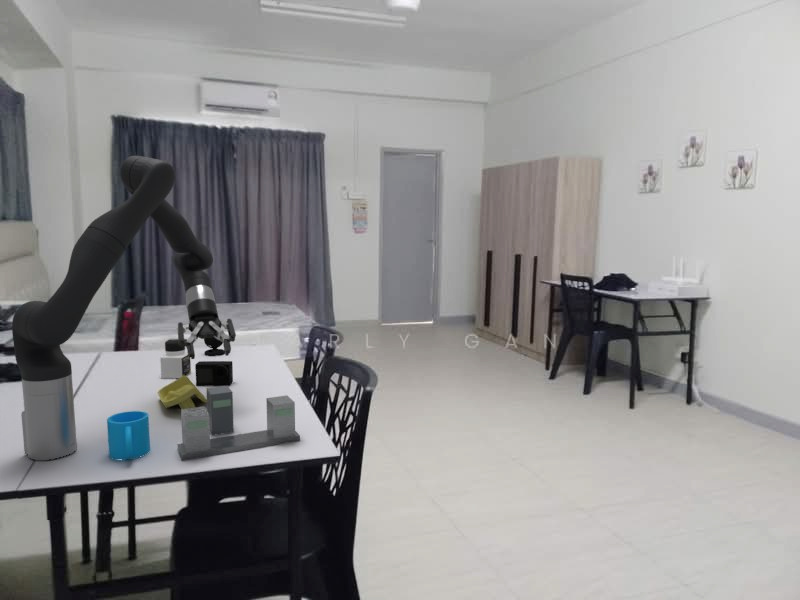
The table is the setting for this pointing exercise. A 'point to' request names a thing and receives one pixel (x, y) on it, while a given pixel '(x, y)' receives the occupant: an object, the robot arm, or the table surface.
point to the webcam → (213, 346)
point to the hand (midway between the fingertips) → (210, 355)
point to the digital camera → (214, 373)
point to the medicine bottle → (175, 360)
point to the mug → (128, 435)
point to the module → (220, 409)
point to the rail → (201, 445)
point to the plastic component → (180, 393)
